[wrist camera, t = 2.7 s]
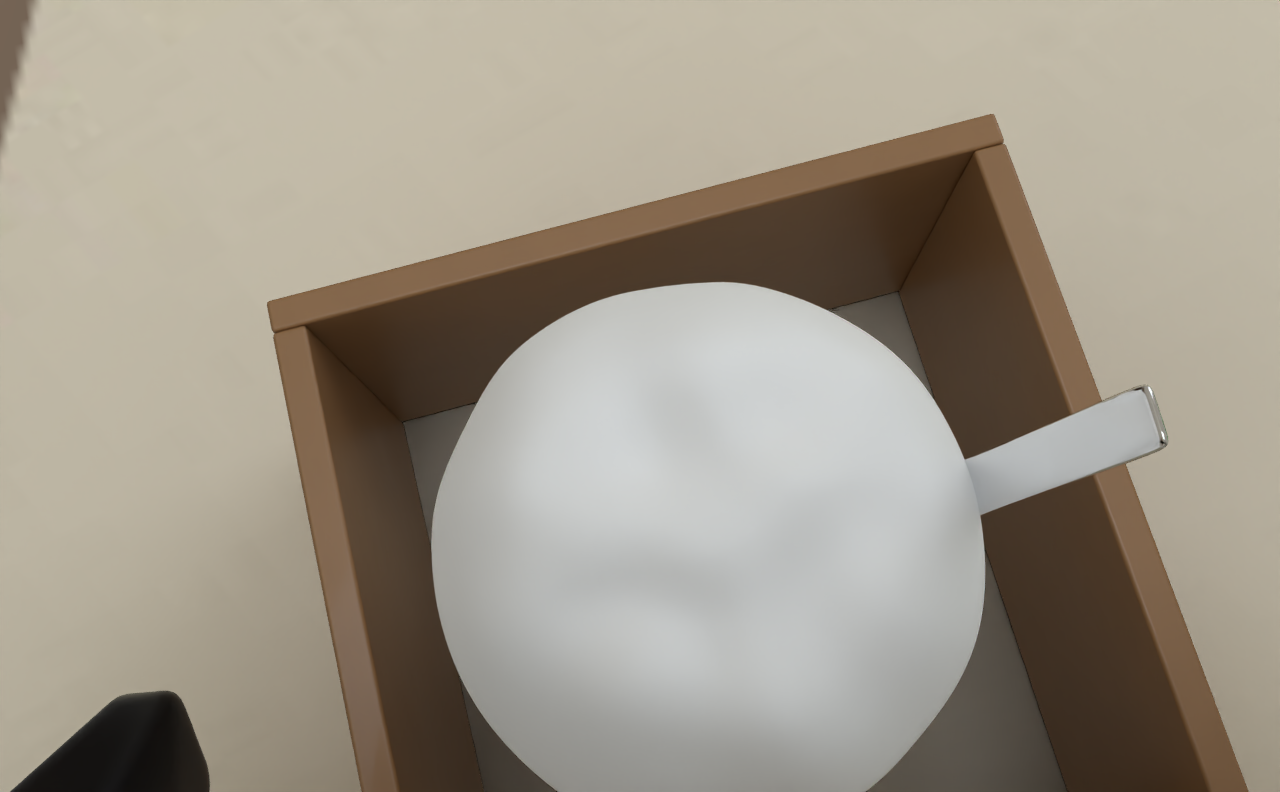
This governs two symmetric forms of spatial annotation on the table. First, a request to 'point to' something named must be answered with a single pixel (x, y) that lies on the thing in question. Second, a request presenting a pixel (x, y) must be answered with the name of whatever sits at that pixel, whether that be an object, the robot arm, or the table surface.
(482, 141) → the table surface
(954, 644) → the milkshake
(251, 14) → the table surface
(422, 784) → the carton
